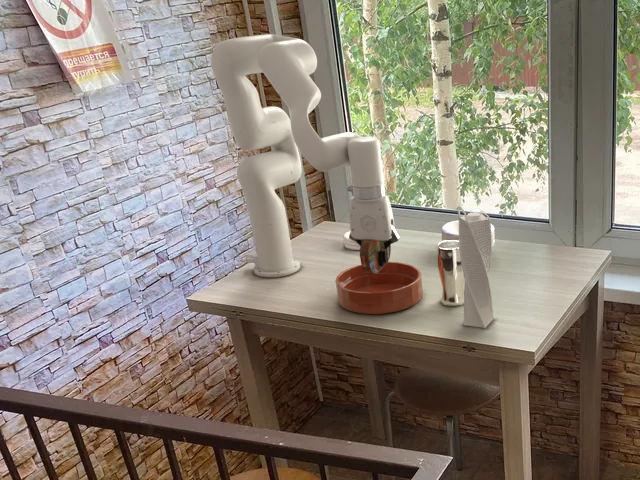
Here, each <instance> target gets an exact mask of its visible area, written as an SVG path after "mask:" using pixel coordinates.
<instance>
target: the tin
mask: <svg viewBox="0 0 640 480" xmlns="http://www.w3.org/2000/svg"><path fill="white" fill-rule="evenodd" d="M390 238H391V237H390ZM390 238H389V239H390ZM391 245H392V244H391ZM391 245H390V246H389V247H388V248H387V254H388V262H390V258H391V254H392V248H391V247H392V246H391ZM379 251H380V245H379V240H364V241H363V242H362V244H361V247H360V250H359V259H360V265H362V269H363V271H364V272H365V273H367V274H377V273H378V272H379V271H380V270H381V269H382V268H383V267H384V266H385V265H386V264H387V263H388V262H387V263H386V264H385V265H384V266H383V267H381V266H380V262H379Z"/></svg>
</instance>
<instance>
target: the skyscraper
mask: <svg viewBox="0 0 640 480" xmlns="http://www.w3.org/2000/svg"><path fill="white" fill-rule="evenodd" d="M456 209H457V216H458V220H459V249H460V258H461V264H462V269H463V274H464V304H463V326H468V327H475V328H483V329H487V327H488V326H489V324H491V323H492V322H493V321H494V319H495V318H494V317H495V316H494V308H493V298H492V297H493V296H492V289H491V284H490V279H489V272H490V267H491V261H492V260H491V259H492V251H493V249H492V248H493V246H492V235H491V224H492V222H491V217H490V216H489V215H488V214H487V213H486V212H485V211H484V210H480V211H479V212H477V211H473V212H469V213H466V211H465V210H464V208H463V207H461V206H460V205H457V207H456ZM461 211H462V213H463V215H461Z"/></svg>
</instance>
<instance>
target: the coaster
mask: <svg viewBox="0 0 640 480" xmlns="http://www.w3.org/2000/svg"><path fill="white" fill-rule="evenodd" d="M350 232H351V231H350V230H349V231H347V232H345V233H344V234H343V245H344V247H345V248H346V249H348V250H352V251H360V247H361V246H360V245H359V244H358V243H357V242H355V241H353V240H351V239H349V235H350Z"/></svg>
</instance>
